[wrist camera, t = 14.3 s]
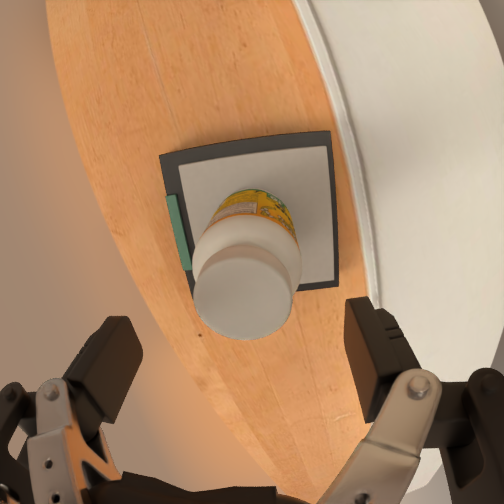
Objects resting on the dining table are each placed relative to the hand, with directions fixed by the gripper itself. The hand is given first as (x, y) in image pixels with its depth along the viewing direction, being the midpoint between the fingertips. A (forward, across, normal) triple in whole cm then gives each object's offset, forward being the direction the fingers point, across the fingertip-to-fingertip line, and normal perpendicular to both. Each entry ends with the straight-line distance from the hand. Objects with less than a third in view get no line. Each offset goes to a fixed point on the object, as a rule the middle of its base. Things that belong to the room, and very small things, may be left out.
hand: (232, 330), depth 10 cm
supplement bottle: (+11, 0, 0) cm, 11 cm away
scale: (+14, 0, 0) cm, 14 cm away
